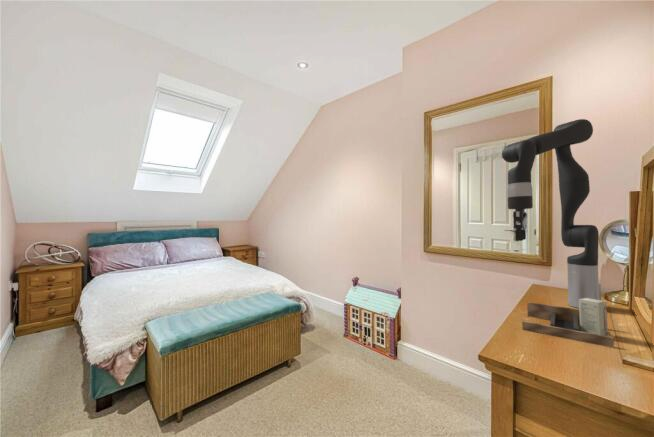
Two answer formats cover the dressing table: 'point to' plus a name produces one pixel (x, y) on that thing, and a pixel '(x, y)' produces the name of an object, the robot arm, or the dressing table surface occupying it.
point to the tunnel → (562, 324)
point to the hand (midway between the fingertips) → (520, 240)
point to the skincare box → (593, 316)
